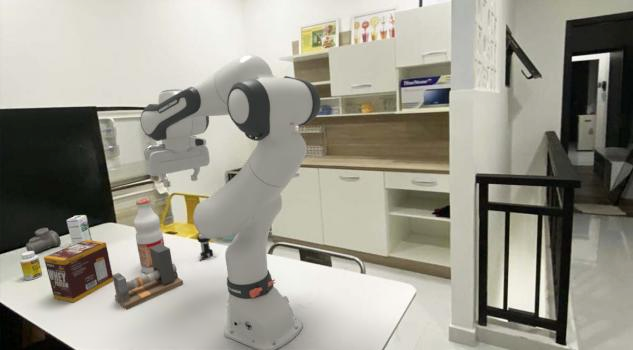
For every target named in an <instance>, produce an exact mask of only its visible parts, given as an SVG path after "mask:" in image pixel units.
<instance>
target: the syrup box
mask: <svg viewBox="0 0 633 350" xmlns="http://www.w3.org/2000/svg"><path fill="white" fill-rule="evenodd" d="M66 224H67V229H68V233H69V236H70V239H71V240H70V241H71V244H72V245H75V244H77V243H80V242H82V241H84V240H91V241H93V238H92V234H91V231H90V226H89V222H88V217H87V215H86V214H80V215H74V216H73V217H70V218H68V219H66Z"/></svg>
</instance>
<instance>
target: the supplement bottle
mask: <svg viewBox="0 0 633 350" xmlns="http://www.w3.org/2000/svg"><path fill="white" fill-rule="evenodd" d="M19 263H20V265H21V266H20V267H21V271H22V274H23V277H24V280H25V281H31V280H35V279H37V278H40V277H41V276H42V275H43V271H42V267H41V263H40V258H39V255H36V254H35V253H34V251H26V252H22V253H21V259H20V260H19Z"/></svg>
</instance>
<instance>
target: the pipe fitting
mask: <svg viewBox="0 0 633 350" xmlns="http://www.w3.org/2000/svg"><path fill="white" fill-rule="evenodd" d="M34 234H35V235H36V236H34V237H32V238H30V239H29V240H28V242H27V243H26V244H25V248H26V252H28V251H34V253H35V255H36V254H39V253H40V252H42V251H45V250H47V249H49V248H51V247H54V248H56V247H59V246H61V243H62V240H61V238H60V236H59V234H58V233H57V232H56V231H54V230H49V228H48V227H42V228H39V229H37V230H36V231H34Z"/></svg>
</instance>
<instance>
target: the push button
mask: <svg viewBox="0 0 633 350" xmlns="http://www.w3.org/2000/svg"><path fill="white" fill-rule="evenodd" d="M196 238H197V242H198V243H200V247H201V252H200V254H199V255H200V256H198V260H199V261H201V260H206V259H208V258H210V257H213V256H214V253H213V252H214V251H213V249H211V247H210V241H211V239H208V238H205V237H204V236H202V235H201V234H200V233H199V235H198V236H197V237H196Z"/></svg>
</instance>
